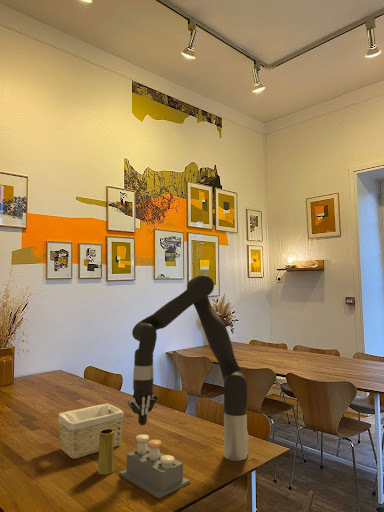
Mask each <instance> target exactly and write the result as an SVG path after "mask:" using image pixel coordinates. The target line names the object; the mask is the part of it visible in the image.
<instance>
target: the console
mask: <svg viewBox="0 0 384 512" xmlns="http://www.w3.org/2000/svg"><path fill="white" fill-rule="evenodd" d="M165 455H166V454H164V453H162V452H160V451H159V460H158V461H156V462H151V461H149V447H148V445H147V454H145V455H143V456H140V455H138V454H137V449H136V450H133V451H130V452H127V454H126V469H124V470H122V471H119V476H121V477H122V476H123V478H124V479H126V480H127V481H129V482H130V481H131V483H132V482H133V483H132V484H134V485H135V484H136V485H135V486H137V487H139V488H140V489H142V490H144V491H145V492H147V493H149V494H150V495H152V496H154V497H155V498H156V499H161V498H163V497H165V496H167V495H169V494H171V493H173V492H175V491H177V490H179V489H181V488H183V487H185V486H187V485H188V484H190V483H191V481H190V479H188V478H186V477H184V463H183V461H182V462H181V461H180V460H177V459H175V458H174V463H172V467H171V468H168V469H165V468H163V467H162V463H161V462H160V458H161V457H162V456H165Z"/></svg>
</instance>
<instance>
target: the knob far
mask: <svg viewBox="0 0 384 512" xmlns="http://www.w3.org/2000/svg"><path fill="white" fill-rule="evenodd" d="M135 441H136V443H137V446H136V448H137V449H136V450H137V454H138V455H140V456H143V455H145V454H147V446H148V441H150V437H149V435H147V434H138V435H136V436H135Z"/></svg>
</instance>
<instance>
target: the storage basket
mask: <svg viewBox="0 0 384 512" xmlns="http://www.w3.org/2000/svg"><path fill="white" fill-rule="evenodd" d="M57 420H58V421H57V422H58V424H59V437H60V438H59V439H60V449H61V450H62V451H63V452H64V453H65V454H66V455H67V456H69V457H70V458H71V459H72V460H75V459H80V457H81V458H82V457H85V456H90V455H93V454H96V453H99V436H100V431H101V430H103V429H113V430H114V448H115V447H118V446H121V443H122V431H123V422H124V411H123V410H121V408H119V407H117V406H114V405H113V404H110V403H104V404H98V405H93V406H89V407H84V408H80V409H79V408H78V409H74V410H69V411H65V412H59V413H58V419H57Z"/></svg>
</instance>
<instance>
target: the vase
mask: <svg viewBox="0 0 384 512" xmlns="http://www.w3.org/2000/svg"><path fill="white" fill-rule="evenodd" d="M114 448H115V447H114V430H113V429H103V430H101V431H100V436H99V452H98V461H97V474H99V475H100V476H101V475H102V476H107V474H108V475H111V474H113V472H115V465H114V455H115V454H114ZM110 473H111V474H110Z"/></svg>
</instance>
